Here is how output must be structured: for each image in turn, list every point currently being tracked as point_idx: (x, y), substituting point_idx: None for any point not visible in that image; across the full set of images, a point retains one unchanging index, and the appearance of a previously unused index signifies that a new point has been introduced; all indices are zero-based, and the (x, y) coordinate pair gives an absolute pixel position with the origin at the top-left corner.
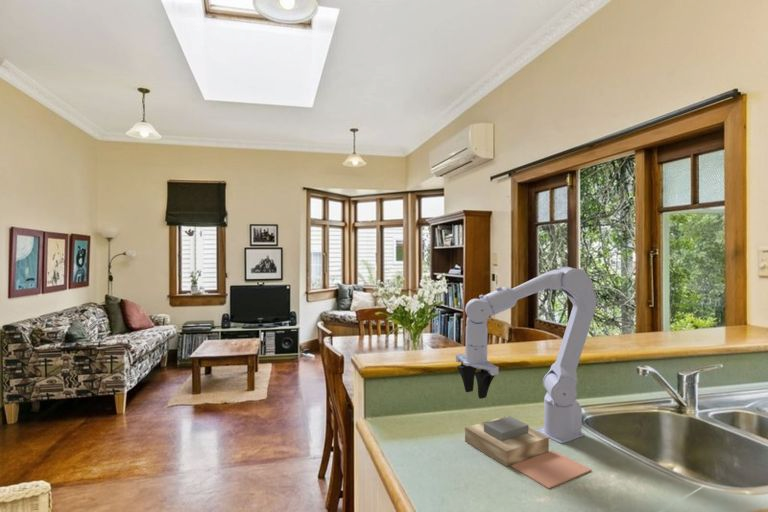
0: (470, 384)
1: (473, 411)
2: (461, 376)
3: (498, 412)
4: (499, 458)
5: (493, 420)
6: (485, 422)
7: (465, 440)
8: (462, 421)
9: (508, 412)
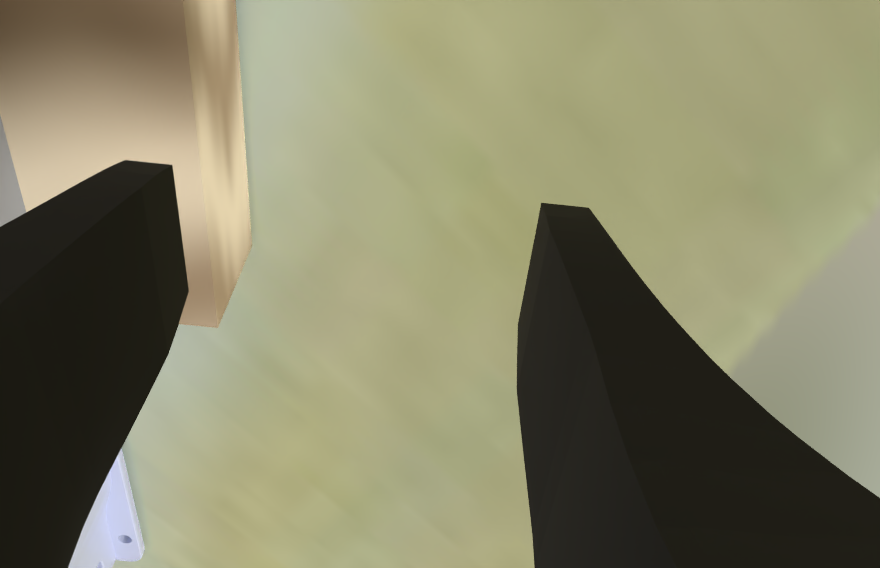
0: (538, 386)
1: (727, 320)
2: (767, 413)
3: None
4: None
5: (181, 155)
6: (170, 26)
7: None
8: (662, 58)
9: (495, 488)
